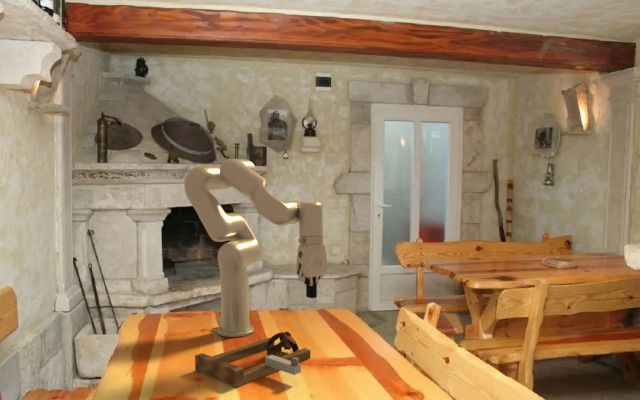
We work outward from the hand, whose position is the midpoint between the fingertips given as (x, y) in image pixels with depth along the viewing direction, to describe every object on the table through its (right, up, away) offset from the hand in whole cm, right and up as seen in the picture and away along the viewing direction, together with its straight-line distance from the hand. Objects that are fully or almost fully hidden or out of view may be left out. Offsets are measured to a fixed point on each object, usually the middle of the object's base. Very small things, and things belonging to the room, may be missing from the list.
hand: (311, 297), depth 170 cm
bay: (-16, -16, -17) cm, 28 cm away
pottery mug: (-8, -16, -10) cm, 21 cm away
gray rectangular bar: (-7, -14, -28) cm, 32 cm away
